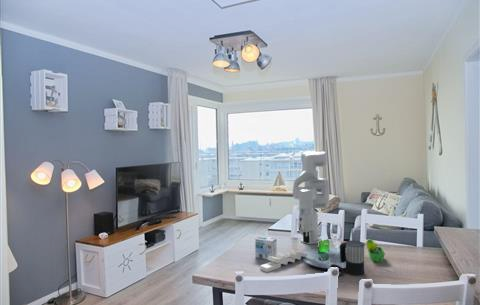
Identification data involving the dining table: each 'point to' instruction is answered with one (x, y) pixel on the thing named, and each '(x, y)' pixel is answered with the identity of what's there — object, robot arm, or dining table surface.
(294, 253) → the domino
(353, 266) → the milk frother
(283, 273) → the dining table surface
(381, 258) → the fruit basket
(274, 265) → the domino
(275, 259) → the domino
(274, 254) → the light bulb box
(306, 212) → the robot arm
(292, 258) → the domino
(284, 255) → the domino
